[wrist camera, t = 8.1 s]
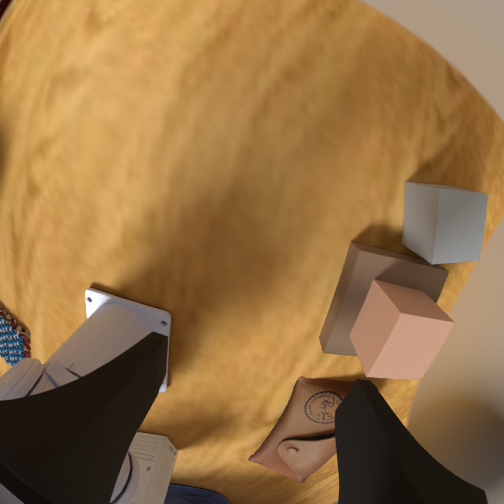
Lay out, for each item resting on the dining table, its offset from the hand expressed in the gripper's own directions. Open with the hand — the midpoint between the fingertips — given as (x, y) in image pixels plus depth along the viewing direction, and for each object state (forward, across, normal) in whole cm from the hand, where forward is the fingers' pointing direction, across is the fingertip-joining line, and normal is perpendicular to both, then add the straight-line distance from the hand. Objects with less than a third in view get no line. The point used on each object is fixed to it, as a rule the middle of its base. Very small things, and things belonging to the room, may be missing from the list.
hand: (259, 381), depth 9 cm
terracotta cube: (+9, -9, 0) cm, 12 cm away
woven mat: (+9, +31, +19) cm, 37 cm away
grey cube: (+11, -10, -7) cm, 17 cm away
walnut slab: (+11, -9, 0) cm, 14 cm away
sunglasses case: (+11, -9, +18) cm, 23 cm away
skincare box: (+9, +8, +27) cm, 30 cm away
